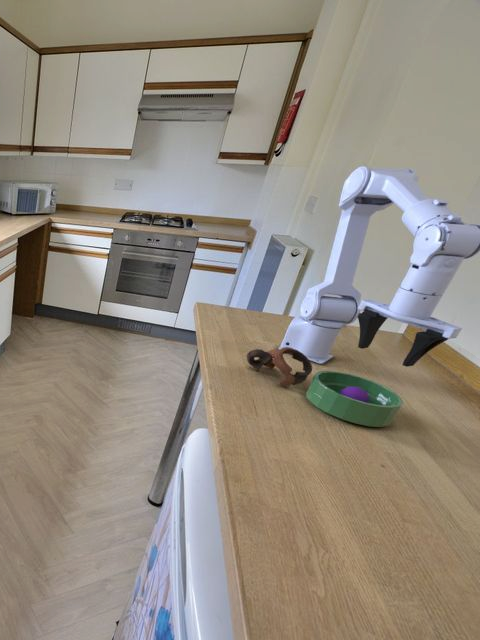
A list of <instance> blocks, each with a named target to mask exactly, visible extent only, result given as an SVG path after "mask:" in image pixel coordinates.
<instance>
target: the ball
mask: <svg viewBox="0 0 480 640" xmlns="http://www.w3.org/2000/svg"><path fill="white" fill-rule="evenodd" d="M339 394H341V395H344V396H347V397H349V398H352V399H355V400H359V401H362V402H365V403H369V401H370V398H369V395H368V393H367V392H366V391H365V390H363V389H362V388H359V387H353V386H352V387H346V388H344V389H342V390H341V391H340V393H339Z"/></svg>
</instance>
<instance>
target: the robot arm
mask: <svg viewBox="0 0 480 640" xmlns="http://www.w3.org/2000/svg"><path fill="white" fill-rule="evenodd" d="M419 176H420V175H419V174H418V173H416V171H415V170H414V169H412V168H389V167H388V168H387V167H372V166H371V167H370V166H366V165H362V166H359V167H357V168H356V169H354V170H353V171H351V173H350V175H349V176H348V177H347V178H346V179H345V181H344V183H343V187H342V190H341V193H340V199H339V203H338V207H339V208H340V209H341V212H340V213H341V214H340V217H339V221H338V224H337V228H336V233H335V237H334V240H333V244H332V248H331V252H330V256H329V260H328V264H327V268H326V271H325V275H324V278H323V281H322V282H320V283H318V284H317V285H314V286H311V287H310V288H308V289H307V291H306V294H305V297H304V299H303V300H302V302H301V304H300V307H299V308H300V309H299V310H300V311H299V312H300V315H296V316H294V318H293V319H292V320H291V322H290V324H289V325H288V327H287V329H286V332H285V335H284V337H283V339H282V342H281V344H280V345H279V347H278V349H282V348H284V347H289V348H293V349H296V350H298V351H300V352H301V353H302V354H304V355H305V356H306V357H307V358H308V360H309V361H310V362H313V363H316V364H318V365H324V364H325V363H326V362H328V361H329V360H331V359H332V358H333V357H334V355H333V354H330V352H332V349H333V347H334V345H335V342H336V340H337V338H338V336H339V334H340V332H341V330H342V329H343V328H344V329H346V328H347V326H348V325H351V324H353V323H354V322H355V321H356V320H357V319H358V320H357V321H358V324H359V338H358V339H359V340H358V345H357V348H359V349H368V348H369V347H370V346H371V344H372V342H373V341H374V339H375V337H376V334H377V333H378V331H379V330H380V328H381V327H382V326H383V324H384V323H385V322H386V321H387V319H391V320H393V321H396V322H400V323H403V324H406V325H409V326H412V327H414V328H418V329H421V330H424V331H417V332H416V333H415V338H414V340H413V343H412V346H411V348H410V351H409V352H408V353H407V355H406V356H405V358H404V360H403V362H402V366H404V367H412V366H414V365H415V364H416V363H417V362H419V361H420V359H422V358H423V357H424V356H425V355H426V354H427V353H429V352H430V351H431V350H433V349H435V348H436V347H437V346H439V345H441V344H443V343H444V342H446V341H448V340H450V339H457V337H458V336H459V334H460V332H461V331H462V330H463V328H462V327H460V326H458V325H455V324H452V323H449V322H446V321H444V320H441V319H438V318H437V317H433V316H432V315H433V313H434V311H435V309H436V308H437V306H438V305H439V303H440V302H441V299H442V298H443V295H444V294H445V293H446V291H447V289H448V288H449V285H450V284H451V283H452V280H453V279H454V277H455V275H456V274H457V272H458V270H459V269H460V267H461V265H462V263H463V262H464V260H467V259H470V258H472V257H474V256H476V255H477V254H479V252H480V224H478V223H477V224H476V223H467V222H464V221H463V220H462V217H461V215H459V214H456V213H455V211H453V210H452V209H451V208H450V207H449V206H448V204H449V202H448V201H447V200H446V199H442V198H428V196H427V195H426V194H425V192H424V191H423V189H422V188H421V187H420V186H419V184H418V181H419ZM392 205H396V206H397V207H398V208H399V209H400V210H401V211H403V214H402V216H401V222H402V224H403V225H404V226H405V227H406V229H407V230H408V231H409V232H410V233H411V234H412V235H413V237H414V240H413V245H412V247H413V249H412V250H413V251H412V254H411V255H410V257H409V259H410V260H409V262H410V267H409V268H408V270H407V272H406V274H405V275H404V278H403V279H402V282H401V284H400V285H399V287H398V289H397V291H396V293H395V295H394V297H393V298H392V300H391V302H390V304H388V303H384V302H383V303H382V302H379V301H375V300H371V299H362V300H361V297H362V293H361V292H360V291H359V290H358V289H357V288H356V287H355V286H354V285H353V282H354V279H355V275H356V271H357V268H358V265H359V261H360V257H361V253H362V249H363V245H364V241H365V238H366V235H367V230H368V227H369V223H370V220H371V217H372V215H374V214H376V212H380V211H384V210H386V209H387V208H389V207H390V206H392ZM329 295H332V296H329ZM361 311H362V312H361Z"/></svg>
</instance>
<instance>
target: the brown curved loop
mask: <svg viewBox="0 0 480 640" xmlns="http://www.w3.org/2000/svg"><path fill="white" fill-rule="evenodd" d="M284 354H285V355H286V354H291V355H292V356H291V358H292V359H293V360H295V361H297V362H300V363H302V366H303V367H302V371H296V372H295V373H294V374H293V373H291V372H292V371H293V368H292V367H291V366H290V365H289V364H288V363H287V362H286V360H285V358H284ZM255 358H258V359H255ZM246 361H247V363H248V365H250V366H251V367H252V370H253V371H254V372H256V373H258V372H259V371H260V369H261V368H262V367H263V366H264V367H267V368H269V369H272V370H273V369H274V368H276V369H278V370H279V372H280V373H281V374H282V375H283V376H284V378H283V379H282V380H280V381H279V382H278V385H279V386H281V387H282V388H287V387H290V386H291V385H292V386H295V385H299V384H302V383H304V382H305V381H306V380H307V378H308V377H309V375H311V373H312V371H313V365H312V362H311V361H310V360H308V358H307V357H306V356H305V355H304V354H302V353H301V352H300V351H298V350H296V349H293V348H289V347H284V348H282V349H279V348H275V349H270V350H268V351H265V350H263V349H260V348H259V349H258V348H257V349H252V350H250V351H248V352H247V354H246Z"/></svg>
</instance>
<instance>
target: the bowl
mask: <svg viewBox="0 0 480 640" xmlns="http://www.w3.org/2000/svg"><path fill="white" fill-rule="evenodd" d="M352 386H353V387H359V388H362V389H363V390H365V391H366V392H367V393H368V395H369V398H370V401H369V403H365V402H362V401H359V400H355V399H352V398H349V397H347V396H344V395H341V394H339V393H340V391H341V390H342V389H344V388H346V387H352ZM305 396H306V398H307V399H308V401H309V403H311V404H312V405H314V406H315V407H316V408H318V409H319V410H321V411H323V412H324V413H327V414H328V415H330V416H333V417H335V418H337V419H340V420H342V421H346V422H349V423H352V424H356V425H361V426H366V427H375V428H384V427H387V426H391V424H392V422H394V419H395V418H396V417H397V414H399V412H400V410H401V408H402V407H403V405H404V400H403V397H401V396H400V394H398V393H397V392H395V391H394V390H392V389H390V388H389V387H387V386H385V385H383V384H381V383H379V382H376V381H374V380H371V379H368V378H366V377H362V376H359V375H355V374H351V373H347V372H343V371H336V370H335V371H334V370H321V371H318V372H316V373H315V374H314V375H313V377H312V379H311V381H310V383H309V386H308V387H307V389H306V391H305Z"/></svg>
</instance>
